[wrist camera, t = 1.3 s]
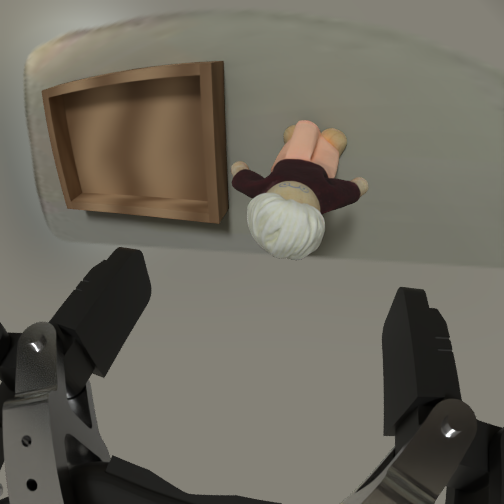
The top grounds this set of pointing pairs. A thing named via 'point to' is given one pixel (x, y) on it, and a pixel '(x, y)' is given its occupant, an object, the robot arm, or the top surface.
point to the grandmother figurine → (297, 191)
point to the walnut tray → (143, 141)
